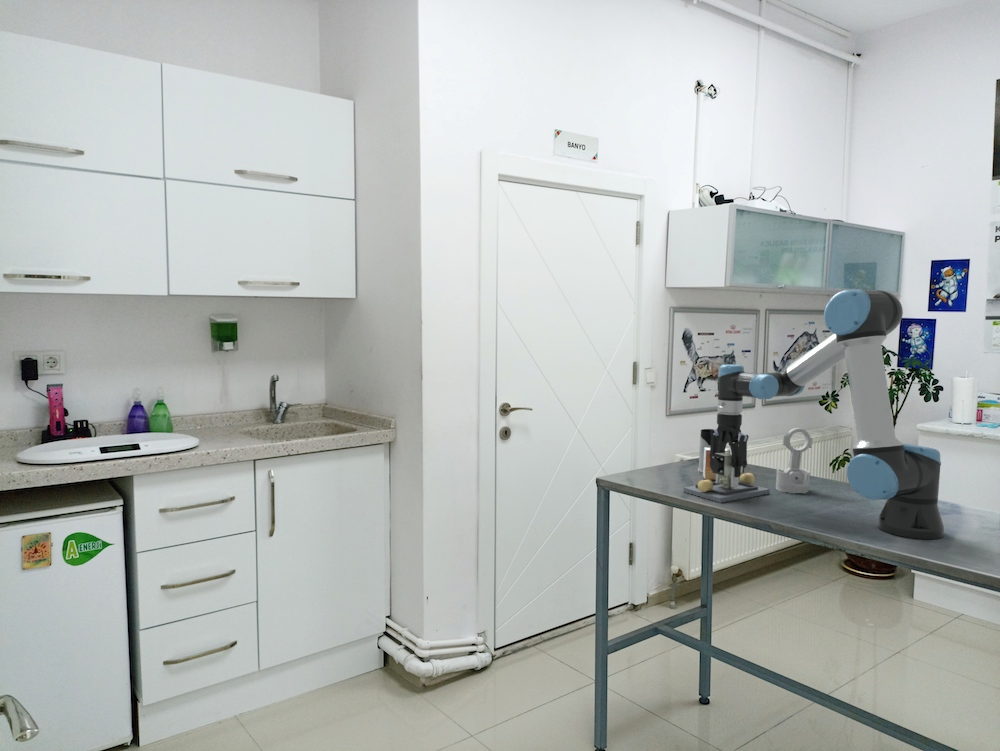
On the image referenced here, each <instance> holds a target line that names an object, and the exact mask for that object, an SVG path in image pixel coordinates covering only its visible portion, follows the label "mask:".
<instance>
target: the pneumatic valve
mask: <svg viewBox="0 0 1000 751" xmlns="http://www.w3.org/2000/svg"><path fill="white" fill-rule="evenodd" d="M747 465H748V464H747ZM747 465H746V466H742V467H741V472H740V473H741V474H745V469H746V467H747ZM732 466H734V465H733V459H732V454H731V449H728V450H727V452H724V453H713V457H712V459H711V460H710V468H711V470H712V473H716V474H719V475H726V476H721V477H720V481H719V484H720V486H721V487H725V488H727V489H728V488H735V487H731V467H732Z"/></svg>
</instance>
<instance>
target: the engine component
mask: <svg viewBox="0 0 1000 751" xmlns="http://www.w3.org/2000/svg"><path fill="white" fill-rule="evenodd" d="M796 433H802V435H804V438H805V440H804V444H803V445H802V446H800V447H799V448H794V447H793V446H792V445H791V438H792V436H794V434H796ZM812 445H813V437H811V434H810V433H809V432H808V431H807V430H806V429H803V428H802V427H801V428H800V427H794V428H792V429H790V430H788V431H787V433H786V434H784V435H783V438H782V446H785V447H786V448H787V449H788V450H789V451H790V454H789V460H788V467H787V468H785V469H784V470H783V471H781V470H780V469H779V468H776V480H775V489H776V490H777V489H778V490H777V491H779V492H782V493H786V492H788V494H795V493H803V494H807V493H806V492H808V491H809V492H810V474H811V472H810V471H809V470H808V469H804V468H801V462H802V461H801V460H802V453H804V452H806V451H807V450H808V449H811V448H812ZM809 492H808V493H809Z"/></svg>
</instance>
